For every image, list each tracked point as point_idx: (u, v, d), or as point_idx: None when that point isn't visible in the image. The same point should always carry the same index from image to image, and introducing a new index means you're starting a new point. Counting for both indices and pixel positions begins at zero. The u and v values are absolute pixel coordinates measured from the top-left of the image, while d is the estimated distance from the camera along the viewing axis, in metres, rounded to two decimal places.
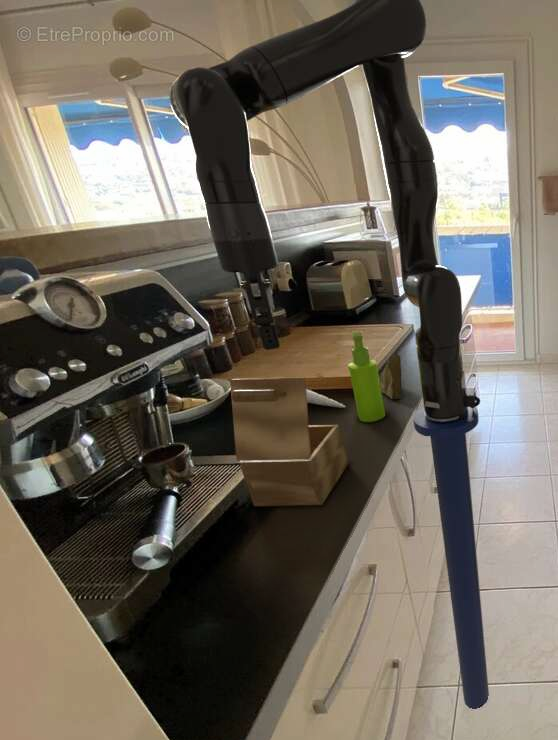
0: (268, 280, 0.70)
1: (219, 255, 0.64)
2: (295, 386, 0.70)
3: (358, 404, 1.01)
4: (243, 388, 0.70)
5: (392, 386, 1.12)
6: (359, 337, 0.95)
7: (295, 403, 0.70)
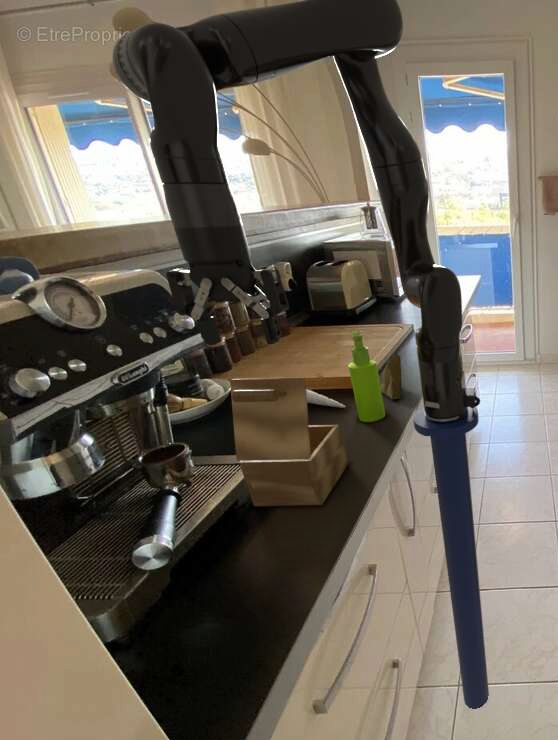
0: None
1: (208, 244, 0.55)
2: (295, 386, 0.70)
3: (358, 404, 1.01)
4: (243, 388, 0.70)
5: (392, 386, 1.12)
6: (359, 337, 0.95)
7: (295, 403, 0.70)
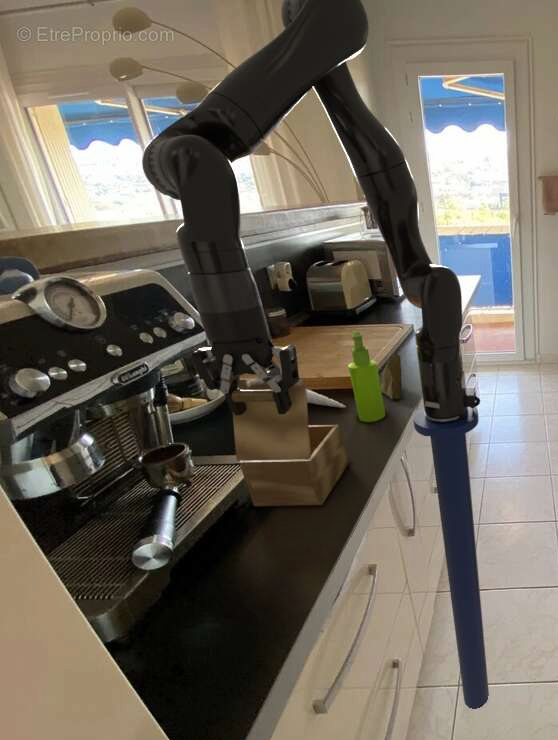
0: None
1: (230, 327, 0.59)
2: (295, 386, 0.70)
3: (358, 404, 1.01)
4: (243, 388, 0.70)
5: (392, 386, 1.12)
6: (359, 337, 0.95)
7: (295, 403, 0.70)
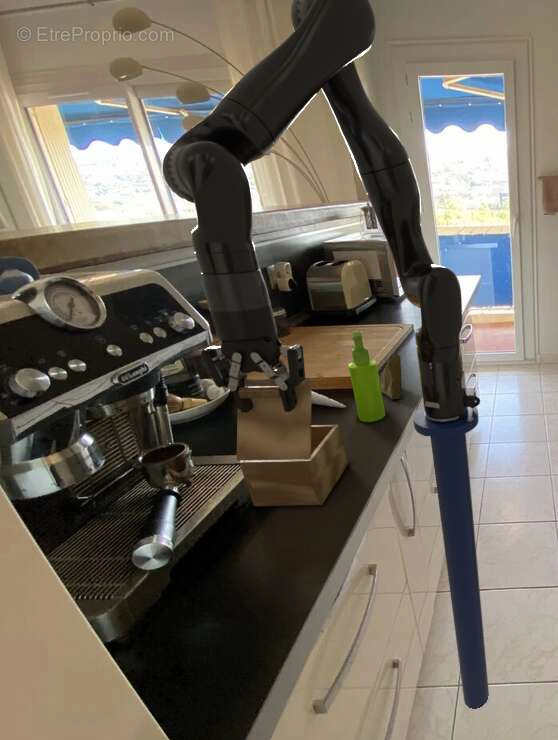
0: None
1: (240, 325, 0.61)
2: (301, 386, 0.72)
3: (358, 404, 1.01)
4: None
5: (392, 386, 1.12)
6: (359, 337, 0.95)
7: (300, 403, 0.71)
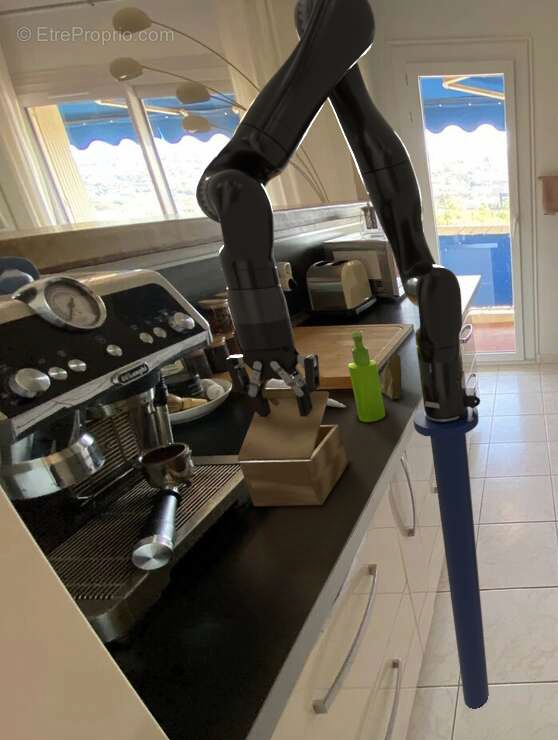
0: None
1: (262, 336, 0.66)
2: (319, 397, 0.77)
3: (358, 404, 1.01)
4: None
5: (392, 386, 1.12)
6: (359, 337, 0.95)
7: (313, 410, 0.76)
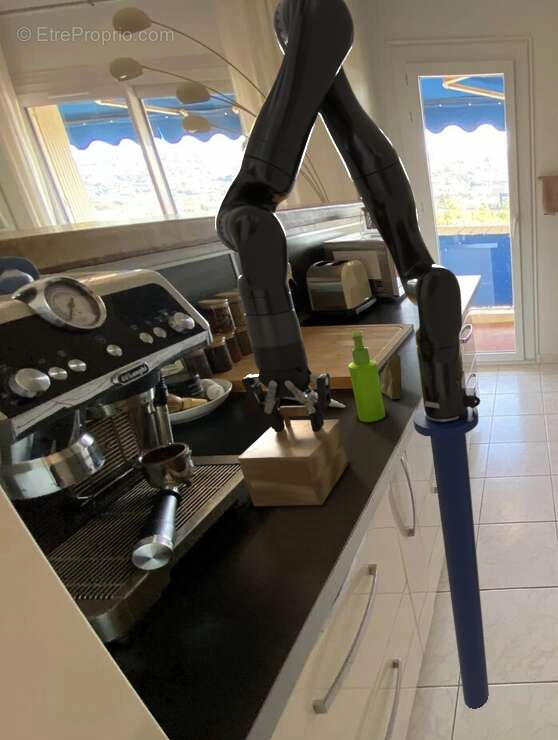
0: None
1: (277, 358, 0.70)
2: (330, 422, 0.82)
3: (358, 404, 1.01)
4: None
5: (392, 386, 1.12)
6: (359, 337, 0.95)
7: (322, 429, 0.79)
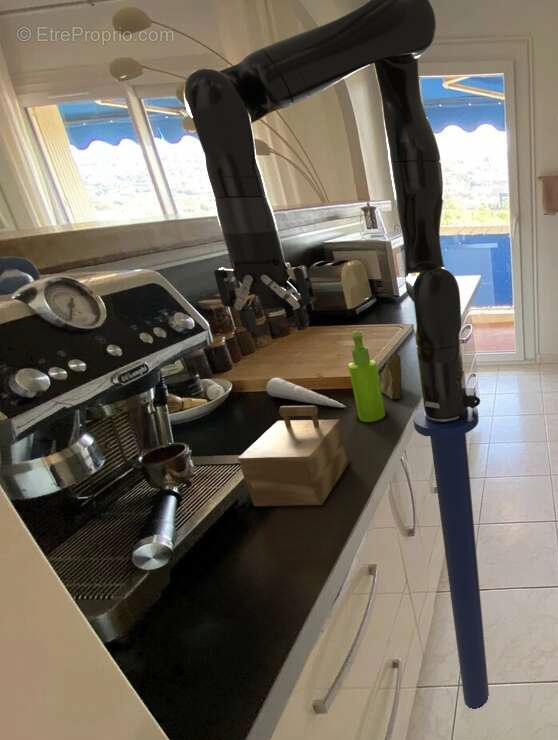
0: None
1: (251, 247, 0.67)
2: (330, 422, 0.82)
3: (358, 404, 1.01)
4: (284, 424, 0.81)
5: (392, 386, 1.12)
6: (359, 337, 0.95)
7: (322, 429, 0.79)
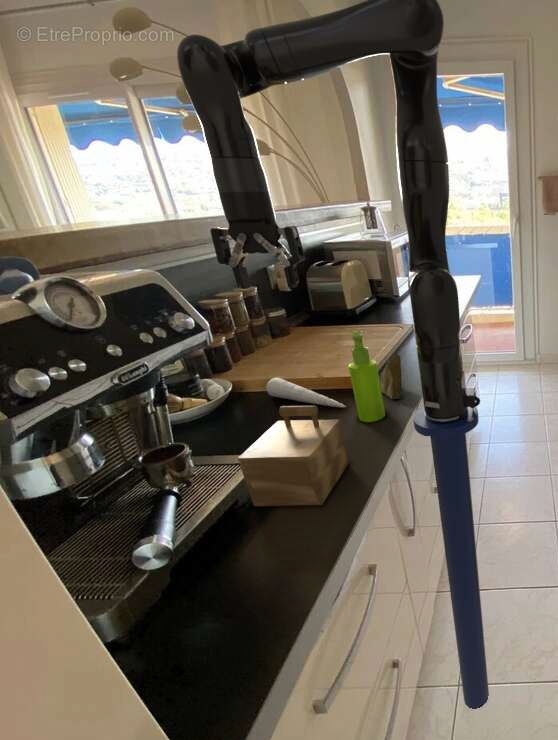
0: None
1: (244, 205, 0.72)
2: (330, 422, 0.82)
3: (358, 404, 1.01)
4: (284, 424, 0.81)
5: (392, 386, 1.12)
6: (359, 337, 0.95)
7: (322, 429, 0.79)
